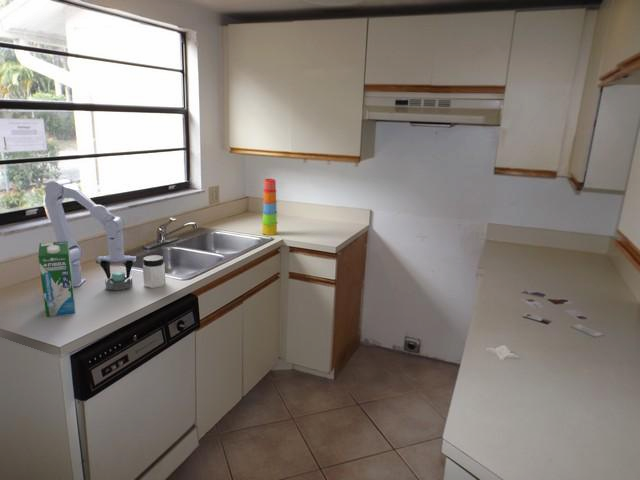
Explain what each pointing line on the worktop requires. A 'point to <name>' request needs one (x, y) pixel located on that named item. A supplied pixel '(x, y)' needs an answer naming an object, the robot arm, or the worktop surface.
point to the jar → (154, 271)
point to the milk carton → (56, 278)
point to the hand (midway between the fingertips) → (118, 277)
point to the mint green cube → (118, 276)
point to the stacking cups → (269, 208)
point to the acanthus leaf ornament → (502, 352)
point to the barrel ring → (118, 284)
